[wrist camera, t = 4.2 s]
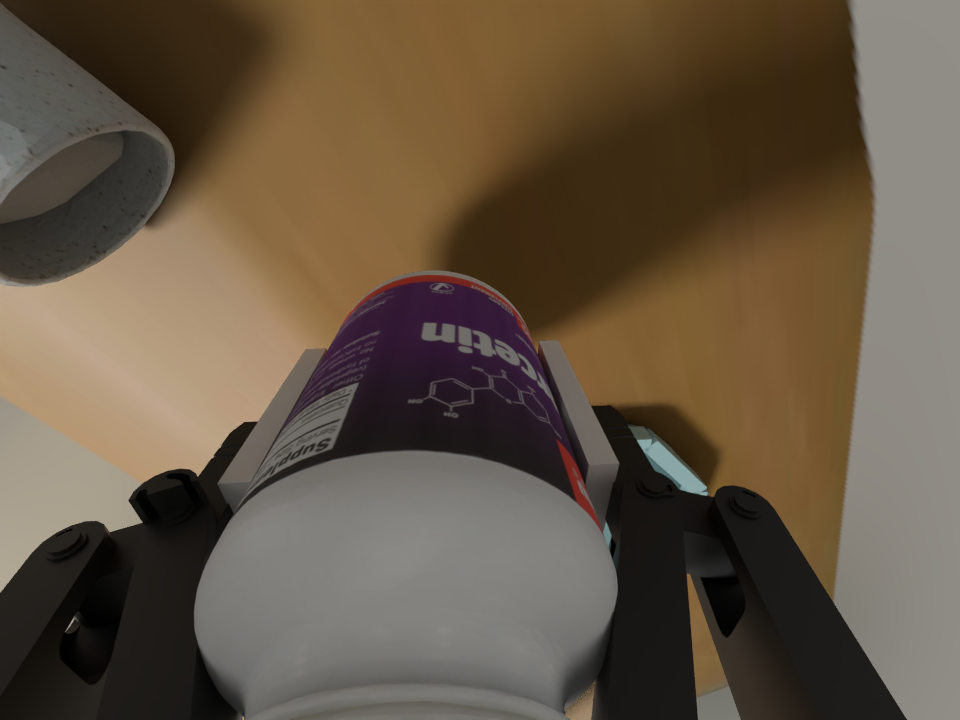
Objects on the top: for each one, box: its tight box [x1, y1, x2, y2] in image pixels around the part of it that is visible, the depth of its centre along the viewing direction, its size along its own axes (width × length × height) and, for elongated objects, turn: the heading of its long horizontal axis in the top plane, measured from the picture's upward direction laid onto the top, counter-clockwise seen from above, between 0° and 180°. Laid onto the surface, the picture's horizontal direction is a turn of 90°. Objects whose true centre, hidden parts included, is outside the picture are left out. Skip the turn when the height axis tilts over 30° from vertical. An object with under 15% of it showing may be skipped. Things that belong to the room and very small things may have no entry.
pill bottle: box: [194, 270, 618, 720], centre depth 11 cm, size 8×8×14 cm
